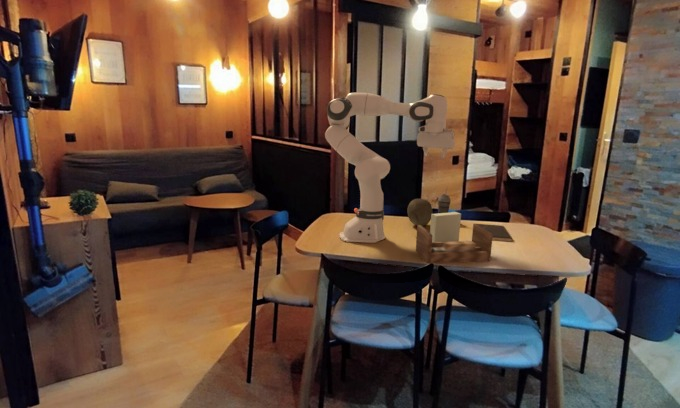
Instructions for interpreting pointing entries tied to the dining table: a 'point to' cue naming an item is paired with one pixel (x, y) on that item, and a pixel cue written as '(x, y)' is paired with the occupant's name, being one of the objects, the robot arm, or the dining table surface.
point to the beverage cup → (443, 203)
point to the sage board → (445, 227)
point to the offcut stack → (456, 247)
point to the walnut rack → (478, 255)
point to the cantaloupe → (419, 212)
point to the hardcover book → (497, 232)
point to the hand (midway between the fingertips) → (434, 156)
